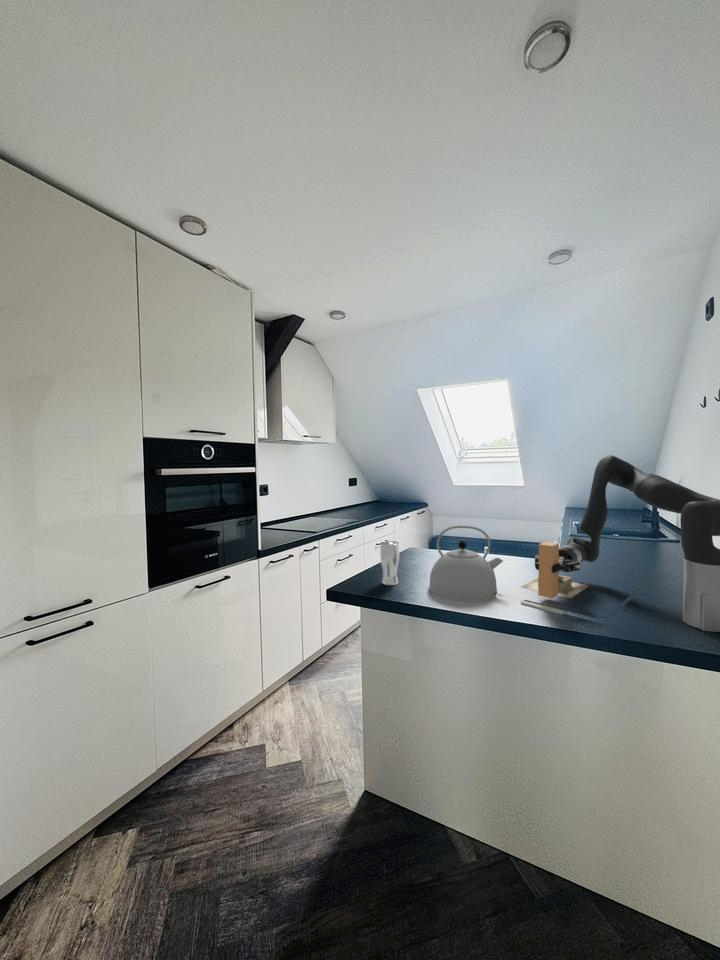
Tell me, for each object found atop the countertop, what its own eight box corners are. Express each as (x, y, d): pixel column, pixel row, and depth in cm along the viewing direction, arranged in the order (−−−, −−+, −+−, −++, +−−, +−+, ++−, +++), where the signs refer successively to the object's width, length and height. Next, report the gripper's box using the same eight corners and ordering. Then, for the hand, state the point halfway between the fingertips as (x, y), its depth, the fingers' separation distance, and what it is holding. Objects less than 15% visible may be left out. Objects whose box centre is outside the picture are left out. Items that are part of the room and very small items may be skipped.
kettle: (496, 581, 143) (496, 521, 142) (511, 603, 120) (511, 532, 119) (428, 579, 146) (428, 520, 145) (430, 600, 124) (430, 530, 123)
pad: (576, 603, 119) (576, 602, 119) (562, 614, 111) (562, 612, 111) (537, 594, 128) (537, 592, 127) (520, 603, 119) (520, 601, 119)
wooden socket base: (589, 588, 133) (589, 574, 133) (570, 601, 121) (570, 586, 121) (541, 578, 145) (541, 566, 145) (520, 589, 133) (520, 576, 132)
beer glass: (380, 580, 145) (380, 540, 145) (398, 580, 145) (398, 540, 145) (380, 585, 139) (380, 544, 138) (400, 585, 138) (399, 544, 138)
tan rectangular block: (558, 594, 119) (558, 543, 119) (551, 598, 116) (552, 546, 115) (544, 591, 122) (545, 541, 122) (538, 595, 119) (538, 544, 118)
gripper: (544, 543, 133) (521, 552, 122) (589, 550, 123) (570, 560, 111) (543, 564, 134) (521, 575, 122) (589, 573, 123) (570, 585, 112)
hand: (545, 568), depth 117 cm, fingers closed on tan rectangular block, 4 cm apart
